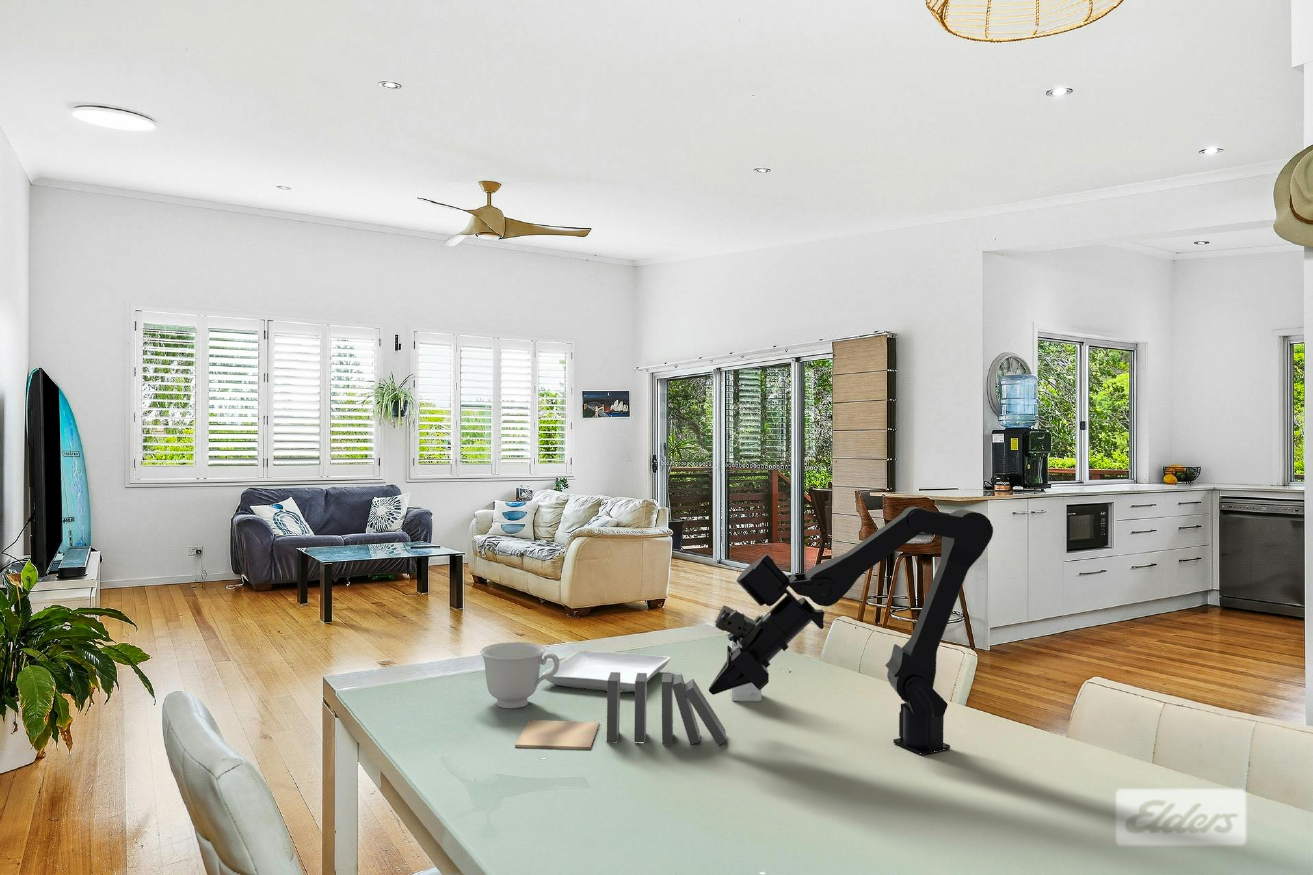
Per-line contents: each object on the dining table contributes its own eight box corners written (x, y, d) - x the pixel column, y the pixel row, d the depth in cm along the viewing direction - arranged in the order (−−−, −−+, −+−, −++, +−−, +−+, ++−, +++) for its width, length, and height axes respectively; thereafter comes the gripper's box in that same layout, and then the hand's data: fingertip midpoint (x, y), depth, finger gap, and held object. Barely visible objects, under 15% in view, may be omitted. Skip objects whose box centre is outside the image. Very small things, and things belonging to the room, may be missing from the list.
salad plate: (539, 690, 166) (539, 672, 166) (579, 663, 187) (579, 648, 187) (641, 700, 160) (641, 682, 160) (672, 672, 180) (672, 656, 181)
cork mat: (599, 724, 145) (599, 722, 145) (590, 749, 133) (590, 746, 133) (530, 722, 146) (530, 719, 146) (514, 747, 134) (515, 744, 134)
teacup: (547, 717, 148) (548, 660, 148) (468, 711, 151) (469, 655, 151) (568, 697, 160) (569, 644, 160) (494, 692, 163) (495, 640, 163)
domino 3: (673, 733, 141) (672, 673, 141) (672, 744, 136) (671, 681, 136) (663, 733, 141) (662, 673, 141) (662, 744, 136) (661, 681, 136)
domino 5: (725, 729, 141) (693, 678, 141) (726, 740, 136) (692, 687, 136) (717, 734, 141) (684, 683, 141) (718, 745, 136) (684, 692, 136)
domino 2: (646, 733, 141) (646, 673, 141) (644, 743, 136) (645, 681, 136) (636, 732, 141) (637, 672, 141) (634, 743, 136) (635, 681, 136)
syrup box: (762, 701, 159) (763, 624, 159) (730, 701, 159) (731, 624, 159) (759, 693, 165) (759, 618, 165) (728, 692, 165) (729, 618, 165)
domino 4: (699, 731, 141) (681, 673, 141) (699, 741, 136) (681, 682, 136) (690, 734, 141) (672, 676, 141) (690, 744, 136) (671, 684, 136)
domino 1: (619, 732, 141) (620, 672, 141) (616, 742, 136) (617, 680, 136) (609, 731, 141) (610, 672, 142) (606, 742, 136) (607, 680, 137)
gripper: (742, 581, 147) (677, 642, 148) (748, 600, 129) (674, 671, 129) (786, 627, 147) (721, 689, 147) (799, 654, 128) (725, 724, 129)
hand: (710, 691), depth 138 cm, fingers closed
